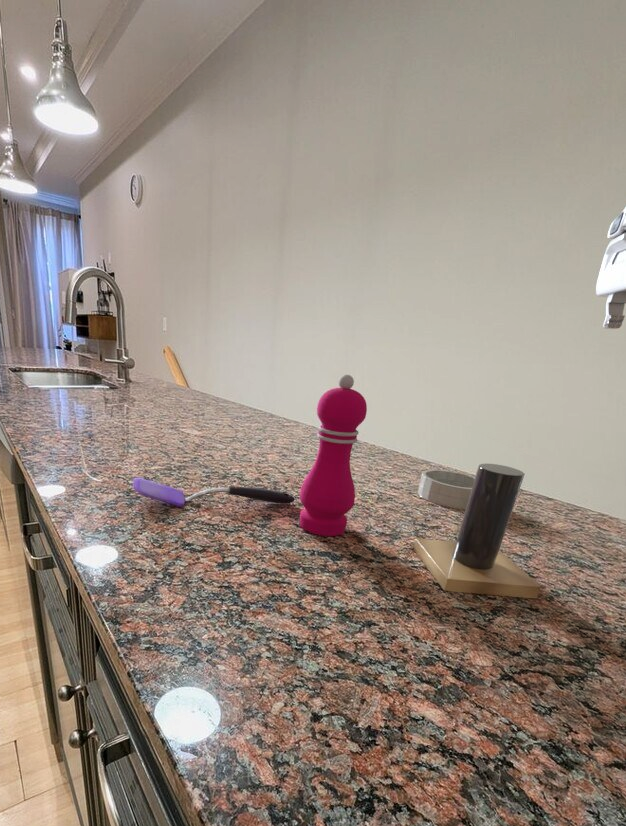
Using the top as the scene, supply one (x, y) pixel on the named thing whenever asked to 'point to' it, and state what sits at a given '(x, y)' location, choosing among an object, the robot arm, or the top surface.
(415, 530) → the top surface
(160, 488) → the spatula
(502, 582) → the board
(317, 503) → the pepper mill
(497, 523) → the black canister
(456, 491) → the pan
